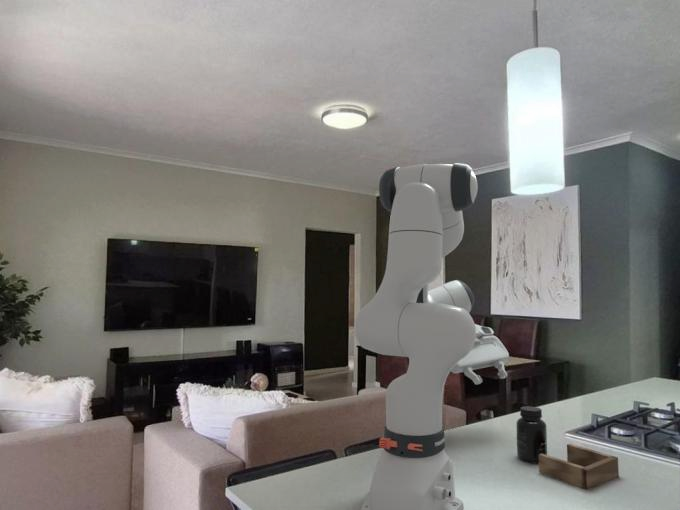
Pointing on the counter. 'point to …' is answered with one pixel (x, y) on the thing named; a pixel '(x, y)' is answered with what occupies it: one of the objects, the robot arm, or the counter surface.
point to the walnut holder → (580, 467)
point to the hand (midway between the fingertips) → (492, 380)
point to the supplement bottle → (531, 435)
